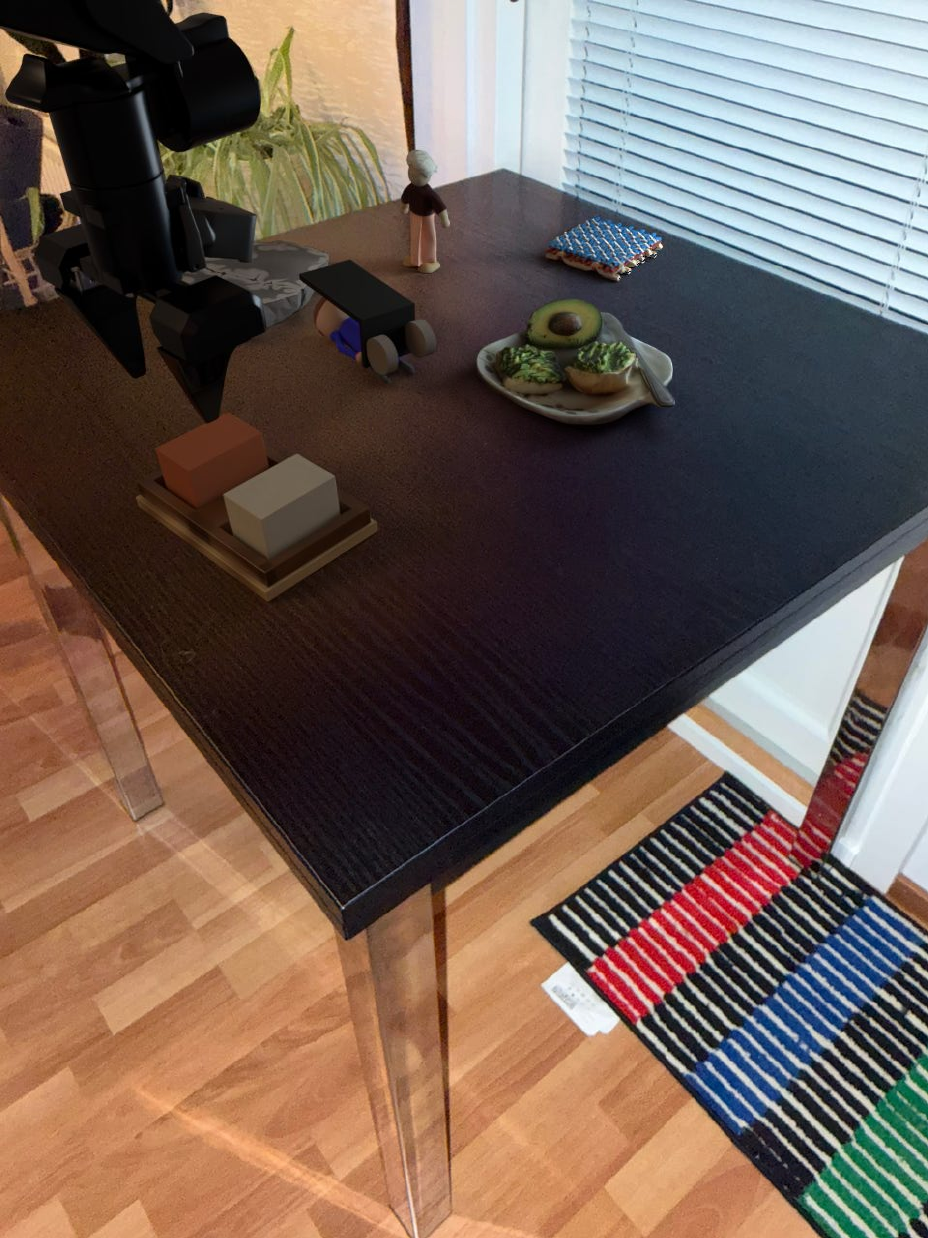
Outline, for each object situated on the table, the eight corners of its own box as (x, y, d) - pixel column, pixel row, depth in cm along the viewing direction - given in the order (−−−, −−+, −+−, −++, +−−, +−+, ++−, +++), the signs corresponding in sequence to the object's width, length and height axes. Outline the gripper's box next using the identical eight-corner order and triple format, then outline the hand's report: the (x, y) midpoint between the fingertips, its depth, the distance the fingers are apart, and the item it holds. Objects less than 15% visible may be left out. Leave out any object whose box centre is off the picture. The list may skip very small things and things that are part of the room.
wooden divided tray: (378, 531, 73) (375, 506, 71) (267, 602, 67) (261, 577, 66) (246, 449, 82) (241, 425, 80) (138, 506, 76) (130, 481, 74)
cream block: (271, 567, 69) (260, 519, 66) (234, 541, 71) (222, 494, 68) (342, 523, 72) (335, 475, 69) (304, 499, 75) (296, 452, 71)
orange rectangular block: (201, 517, 73) (188, 470, 70) (168, 494, 75) (154, 448, 72) (271, 478, 77) (262, 432, 74) (238, 457, 79) (227, 411, 76)
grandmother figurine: (388, 265, 108) (379, 149, 99) (407, 253, 110) (400, 138, 101) (442, 280, 105) (439, 162, 96) (461, 268, 107) (459, 151, 98)
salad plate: (728, 391, 87) (737, 346, 84) (591, 462, 79) (595, 415, 76) (585, 317, 98) (588, 275, 95) (451, 373, 90) (450, 329, 87)
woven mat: (540, 259, 108) (541, 241, 107) (592, 230, 114) (593, 213, 113) (615, 283, 104) (617, 265, 102) (665, 252, 109) (667, 234, 108)
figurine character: (440, 387, 91) (353, 317, 98) (443, 318, 85) (350, 249, 93) (385, 411, 88) (299, 337, 95) (384, 341, 82) (293, 268, 90)
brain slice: (231, 254, 111) (226, 229, 109) (353, 279, 105) (350, 253, 103) (121, 325, 98) (113, 298, 96) (252, 358, 93) (247, 330, 91)
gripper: (315, 173, 57) (341, 399, 67) (144, 112, 66) (192, 320, 77) (159, 227, 51) (215, 465, 62) (-4, 152, 60) (70, 370, 71)
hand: (174, 397), depth 68 cm, fingers open, 9 cm apart
